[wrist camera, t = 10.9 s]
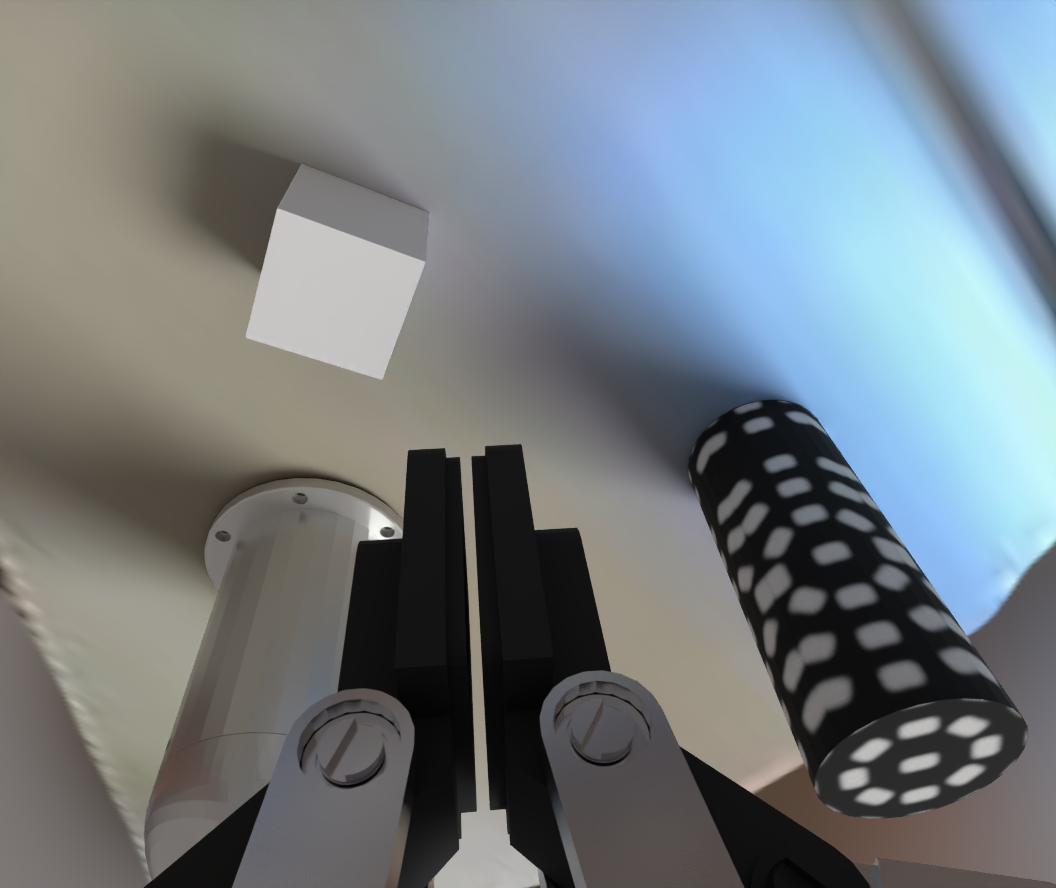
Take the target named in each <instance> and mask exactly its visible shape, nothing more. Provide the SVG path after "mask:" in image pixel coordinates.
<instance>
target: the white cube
mask: <svg viewBox="0 0 1056 888" xmlns="http://www.w3.org/2000/svg"><path fill="white" fill-rule="evenodd" d="M428 221H429V212H427V211H424V210H421V209H419V208H416V207H414V206H411V205H408V204H406V203H403V202H401V201H398V200H395V199H393V198H390V197H388V196H385V195H382V194H380V193H377V192H375V191H372V190H369V189H367V188H364V187H361V186H359V185H356V184H354V183H351V182H348V181H346V180H343V179H341V178H338V177H335V176H333V175H330V174H328V173H325V172H322V171H320V170H317V169H314V168H312V167H309V166H307V165H304V164H301V166H300V167H299V169H298V171H297V173H296V175H295V176H294V178H293V180H292V182H291V184H290V186H289V187H288V189H287V191H286V193H285V195H284V197H283V198H282V200H281V202H280V204H279V206H278V207H277V211H276V215H275V219H274V223H273V227H272V231H271V235H270V239H269V243H268V248H267V252H266V256H265V260H264V264H263V268H262V272H261V276H260V280H259V284H258V288H257V292H256V297H255V301H254V305H253V309H252V313H251V317H250V321H249V325H248V329H247V333H246V337H245V338H248V339H252V340H255V341H258V342H261V343H265V344H268V345H271V346H274V347H277V348H281V349H284V350H287V351H290V352H294V353H297V354H300V355H303V356H306V357H310V358H313V359H316V360H319V361H323V362H326V363H329V364H332V365H335V366H339V367H342V368H345V369H348V370H352V371H355V372H358V373H361V374H364V375H368V376H371V377H374V378H377V379H381V380H382V379H383V376H384V374H385V371H386V368H387V365H388V363H389V360H390V357H391V355H392V352H393V349H394V346H395V344H396V341H397V338H398V336H399V333H400V330H401V327H402V325H403V322H404V319H405V317H406V314H407V311H408V308H409V306H410V303H411V300H412V298H413V295H414V292H415V289H416V287H417V284H418V281H419V279H420V276H421V273H422V270H423V268H424V265H425V262H426V249H427V235H428Z"/></svg>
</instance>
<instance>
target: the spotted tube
mask: <svg viewBox="0 0 1056 888" xmlns="http://www.w3.org/2000/svg"><path fill="white" fill-rule="evenodd" d="M688 471H689V478H690V481H691V483H692V486H693V488H694V491H695V493H696V496H697V498H698V501H699V503H700V506H701V508H702V511H703V513H704V516H705V518H706V521H707V523H708V526H709V528H710V530H711V533H712V535H713V538H714V540H715V543H716V545H717V548H718V550H719V553H720V555H721V558H722V560H723V563H724V565H725V568H726V570H727V573H728V575H729V578H730V580H731V583H732V585H733V587H734V590H735V592H736V595H737V597H738V600H739V602H740V605H741V607H742V610H743V612H744V615H745V617H746V620H747V622H748V625H749V627H750V630H751V632H752V635H753V637H754V640H755V642H756V644H757V647H758V649H759V652H760V654H761V657H762V659H763V662H764V664H765V667H766V669H767V672H768V674H769V677H770V679H771V682H772V684H773V687H774V689H775V692H776V694H777V697H778V699H779V701H780V704H781V706H782V709H783V711H784V714H785V716H786V719H787V721H788V724H789V726H790V729H791V731H792V734H793V736H794V739H795V741H796V744H797V746H798V749H799V751H800V754H801V756H802V758H803V761H804V763H805V766H806V768H807V771H808V773H809V776H810V778H811V781H812V783H813V786H814V788H815V791H816V793H817V796H818V798H819V799H820V800H821V801H822V802H823V803H824V804H825V805H826V806H827V807H829V808H831V809H832V810H834V811H836V812H839V813H842V814H845V815H848V816H853V817H860V818H892V817H902V816H907V815H913V814H918V813H922V812H926V811H929V810H933V809H937V808H940V807H943V806H946V805H948V804H951V803H953V802H956V801H959V800H961V799H963V798H965V797H967V796H969V795H971V794H973V793H975V792H977V791H979V790H980V789H982V788H984V787H985V786H987V785H989V784H990V783H992V782H993V781H994V780H996V779H997V778H998V777H1000V776H1001V775H1002V774H1003V773H1004V772H1006V771H1007V770H1008V769H1009V768H1010V767H1011V766H1012V765H1013V764H1014V763H1015V761H1016V760H1017V759H1018V758H1019V756H1020V754H1021V753H1022V751H1023V750H1024V748H1025V745H1026V741H1027V738H1028V731H1027V730H1028V729H1027V725H1026V723H1025V721H1024V719H1023V717H1022V715H1021V714H1020V713H1019V711H1018V709H1017V708H1016V707H1015V705H1014V704H1013V702H1012V701H1011V699H1010V698H1009V696H1008V695H1007V694H1006V692H1005V691H1004V689H1003V688H1002V686H1001V685H1000V683H999V682H998V680H997V679H996V678H995V676H994V675H993V673H992V672H991V670H990V669H989V668H988V666H987V665H986V663H985V662H984V660H983V659H982V657H981V656H980V654H979V653H978V651H977V650H976V649H975V647H974V646H973V644H972V643H971V641H970V640H969V638H968V637H967V636H966V634H965V633H964V631H963V630H962V628H961V627H960V625H959V624H958V622H957V621H956V620H955V618H954V617H953V615H952V614H951V612H950V611H949V609H948V608H947V606H946V605H945V604H944V602H943V601H942V599H941V598H940V596H939V595H938V593H937V592H936V591H935V589H934V588H933V586H932V585H931V583H930V582H929V580H928V579H927V577H926V576H925V575H924V573H923V572H922V570H921V569H920V567H919V566H918V564H917V563H916V562H915V560H914V559H913V557H912V556H911V554H910V553H909V551H908V550H907V548H906V547H905V546H904V544H903V543H902V541H901V540H900V538H899V537H898V535H897V534H896V532H895V531H894V530H893V528H892V527H891V525H890V524H889V522H888V521H887V519H886V518H885V517H884V515H883V514H882V512H881V511H880V509H879V508H878V506H877V505H876V503H875V502H874V501H873V499H872V498H871V496H870V495H869V493H868V492H867V490H866V489H865V488H864V486H863V485H862V483H861V482H860V480H859V479H858V477H857V476H856V474H855V473H854V472H853V470H852V469H851V467H850V466H849V464H848V463H847V461H846V460H845V459H844V457H843V456H842V454H841V453H840V451H839V450H838V448H837V447H836V445H835V444H834V443H833V441H832V440H831V438H830V437H829V435H828V434H827V432H826V431H825V429H824V428H823V427H822V425H821V424H820V422H819V421H818V419H817V418H816V417H815V416H814V415H813V414H812V413H811V412H810V411H808V410H807V409H805V408H803V407H801V406H800V405H797V404H794V403H791V402H787V401H778V400H769V401H759V402H754V403H750V404H746V405H743V406H741V407H738V408H735V409H733V410H731V411H729V412H728V413H726V414H724V415H722V416H721V417H719V418H718V419H717V420H716V421H714V422H713V423H712V424H711V425H709V426H708V428H707V429H706V430H705V431H704V432H703V433H702V434H701V435H700V437H699V438H698V440H697V442H696V443H695V445H694V447H693V449H692V452H691V455H690V458H689V465H688Z"/></svg>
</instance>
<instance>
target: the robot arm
mask: <svg viewBox="0 0 1056 888" xmlns="http://www.w3.org/2000/svg"><path fill="white" fill-rule="evenodd" d="M472 477H473V497H474V516H475V536H476V556H477V576H478V595H479V614H480V633H481V651H482V670H483V688H484V707H485V725H486V744H487V763H488V781H489V800H490V810H498V809H506V816H507V830H508V834H510V845H511V846H513V847H514V848H515V849H516V850H517V851H519V852H520V853H521V854H522V855H523V856H524V857H526V858H527V859H528V860H529V861H530V862H532V863H533V864H534V865H535V866H536V867H537V868H538V876H539V883H540V886H541V888H1056V884H1054V883H1050V882H1045V881H1038V880H1032V879H1025V878H1018V877H1011V876H1004V875H997V874H990V873H983V872H977V871H970V870H963V869H956V868H949V867H943V866H936V865H929V864H922V863H915V862H908V861H901V860H894V859H888V858H881V857H877V858H876V860H875V862H874V864H873V865H871V864H864V863H857V862H851V861H850V860H849V859H848V858H846V857H845V856H844V855H843V854H841V853H840V852H839V851H838V850H837V849H836V848H834V847H833V846H832V845H830V844H828V843H827V842H825V841H824V840H822V839H821V838H819V837H818V836H816V835H815V834H813V833H812V832H810V831H809V830H807V829H806V828H804V827H802V826H801V825H799V824H798V823H796V822H795V821H793V820H792V819H790V818H788V817H787V816H786V815H784V814H782V813H781V812H780V811H778V810H776V809H775V808H773V807H772V806H770V805H769V804H767V803H766V802H764V801H763V800H761V799H760V798H758V797H757V796H755V795H753V794H752V793H750V792H749V791H747V790H746V789H744V788H743V787H741V786H740V785H738V784H737V783H735V782H734V781H732V780H731V779H729V778H727V777H726V776H724V775H723V774H721V773H720V772H718V771H717V770H715V769H714V768H712V767H711V766H709V765H708V764H706V763H704V762H703V761H701V760H700V759H698V758H697V757H695V756H694V755H692V754H691V753H689V752H688V751H686V750H685V749H683V748H682V747H680V746H679V744H678V742H677V740H676V738H675V736H674V734H673V731H672V729H671V727H670V725H669V723H668V721H667V718H666V716H665V714H664V712H663V710H662V708H661V706H660V705H659V703H658V702H657V700H656V699H655V697H654V696H653V694H652V693H651V692H649V691H648V690H647V689H646V688H645V687H643V686H642V685H641V684H640V683H639V682H637V681H635V680H633V679H631V678H629V677H626V676H624V675H622V674H619V673H613V672H611V669H610V665H609V660H608V656H607V651H606V647H605V642H604V638H603V633H602V629H601V625H600V620H599V616H598V611H597V607H596V602H595V598H594V593H593V589H592V585H591V580H590V576H589V571H588V567H587V562H586V558H585V553H584V549H583V545H582V540H581V536H580V533H579V530H578V529H577V528H564V529H548V530H534V524H533V517H532V511H531V504H530V497H529V491H528V484H527V478H526V471H525V464H524V458H523V451H522V446H521V444H517V445H498V446H485V456H472ZM204 551H205V565H206V569H207V572H208V576H209V578H210V579H211V581H212V583H213V585H214V586H215V588H216V590H217V591H218V594H217V597H216V600H215V603H214V606H213V609H212V612H211V615H210V618H209V621H208V624H207V627H206V630H205V633H204V636H203V639H202V642H201V645H200V648H199V651H198V654H197V657H196V660H195V663H194V666H193V669H192V672H191V675H190V678H189V681H188V684H187V687H186V690H185V693H184V696H183V699H182V702H181V705H180V708H179V711H178V714H177V717H176V720H175V723H174V726H173V729H172V733H171V736H170V739H169V742H168V745H167V748H166V751H165V754H164V757H163V760H162V763H161V766H160V769H159V772H158V775H157V778H156V781H155V784H154V787H153V791H152V794H151V797H150V800H149V804H148V807H147V812H146V819H145V829H144V842H145V856H146V860H147V865H148V869H149V873H150V877H151V880H152V881H151V882H150V883H149V884H147V885H146V886H145V887H144V888H434V877H435V875H436V874H437V873H438V872H439V871H440V870H441V869H442V868H443V867H444V865H445V864H446V863H447V862H448V861H449V860H450V859H451V858H452V857H453V855H454V854H455V853H456V852H457V851H458V850H459V839H462V838H461V813H465V812H476V811H477V804H476V778H475V752H474V727H473V701H472V675H471V650H470V624H469V600H468V582H467V565H466V549H465V533H464V516H463V500H462V484H461V467H460V457H453V458H446V452H445V448H440V449H421V450H409V451H408V459H407V474H406V490H405V505H404V521H402V520H401V519H400V517H399V516H398V515H397V514H396V513H395V512H394V511H393V510H392V509H391V508H390V507H388V506H387V505H386V504H384V503H383V502H381V501H380V500H379V499H377V498H376V497H374V496H372V495H370V494H368V493H366V492H364V491H362V490H360V489H358V488H355V487H352V486H349V485H346V484H342V483H339V482H335V481H329V480H323V479H316V478H292V479H284V480H277V481H272V482H269V483H265V484H262V485H259V486H255V487H253V488H251V489H249V490H247V491H245V492H243V493H241V494H239V495H238V496H237V497H235V498H234V499H233V500H231V501H230V502H229V503H228V504H226V505H225V506H224V508H223V509H222V510H221V511H220V513H219V514H218V515H217V516H216V518H215V520H214V522H213V524H212V527H211V529H210V531H209V533H208V537H207V540H206V544H205V548H204Z"/></svg>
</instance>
